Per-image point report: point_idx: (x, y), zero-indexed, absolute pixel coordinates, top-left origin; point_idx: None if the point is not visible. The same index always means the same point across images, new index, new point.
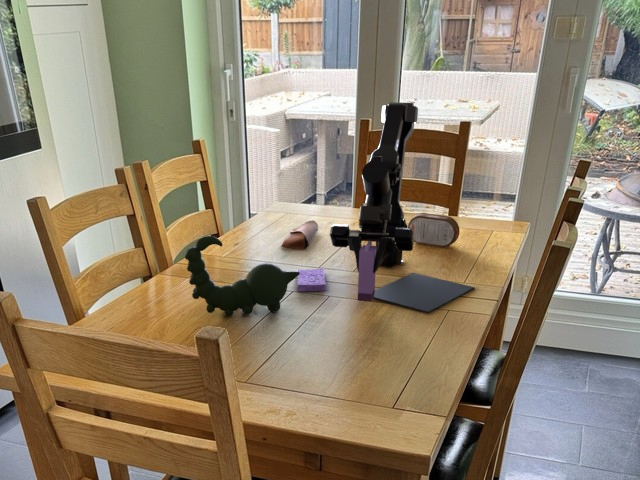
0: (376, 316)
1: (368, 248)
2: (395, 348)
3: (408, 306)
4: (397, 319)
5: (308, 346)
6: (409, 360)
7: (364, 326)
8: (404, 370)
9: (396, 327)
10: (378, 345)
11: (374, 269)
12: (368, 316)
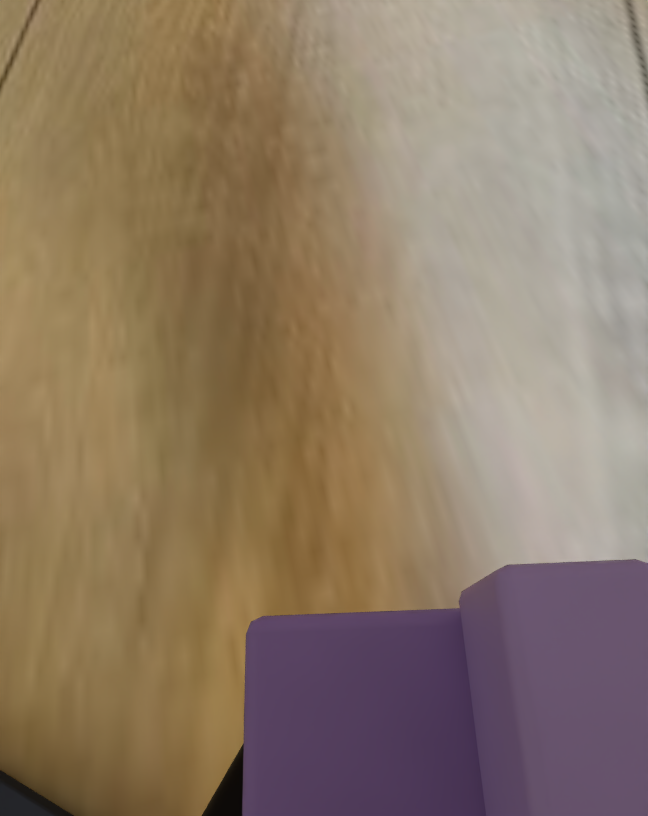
0: (262, 527)
1: (484, 676)
2: (108, 145)
3: (7, 785)
4: (107, 509)
5: (514, 71)
6: (47, 70)
7: (309, 342)
8: (69, 6)
9: (110, 377)
10: (192, 152)
11: None
12: (319, 511)
